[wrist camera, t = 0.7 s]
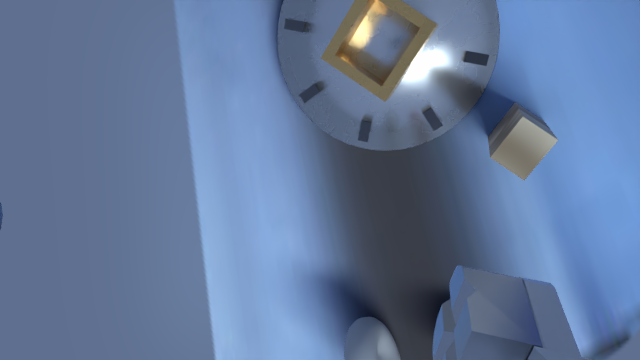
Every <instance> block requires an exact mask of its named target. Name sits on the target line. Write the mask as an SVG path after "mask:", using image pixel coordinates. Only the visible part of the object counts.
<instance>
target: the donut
mask: <svg viewBox="0 0 640 360" xmlns="http://www.w3.org/2000/svg"><path fill="white" fill-rule="evenodd" d="M344 358H345V360H401V359H400V355H399V351H398V349H397V346H396V343H395V341H394V339H393V337H392V335H391V333H390V332H389V330H388V329H387V327H386V326H385V325H384V324H383V323H382V322H380V321H379V320H377V319H376V318H374V317H362V318H359V319H357V320H355V321H354V322H353V324H352V325H351V326H350V327H349V329H348V331H347V334H346V338H345V346H344Z"/></svg>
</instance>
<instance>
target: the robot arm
mask: <svg viewBox="0 0 640 360" xmlns="http://www.w3.org/2000/svg"><path fill="white" fill-rule="evenodd" d="M2 216H3V214H2V206H1V203H0V229H1V224H2ZM449 286H450V297H451V299H449V300H448V301H446V302H445V303H443V304H442V305H441V308H440V311H439V314H438V317H437V321H436V326H435V331H434V338H433V360H591V359H587V358H583V357H581V355H580V352H579V350H578V347H577V344H576V342H575V339H574V337H573V334H572V331H571V329H570V326H569V323H568V321H567V318H566V316H565V313H564V310H563V308H562V305H561V303H560V300H559V297H558V295H557V292H556V290H555V287H554V286H553V285H551V284H550V283H547V282H542V281H537V280H531V279H526V278H521V277H519V278H518V277H513V276H508V275H503V274H499V273H494V272H489V271H484V270H479V269H475V268H470V267H465V266H460V265H458V266H457V268H456V269H455V271H454V273H453V276H452V278H451V281H450V284H449Z"/></svg>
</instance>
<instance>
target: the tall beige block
mask: <svg viewBox="0 0 640 360" xmlns="http://www.w3.org/2000/svg"><path fill="white" fill-rule="evenodd" d="M488 141H489V150H490V158H492V159H493V160H495V161H496V162H498V163H499V164H500V165H502V166H503V167H505V168H506V169H508V170H509V171H511V172H512V173H514V174H515V175H517V176H518V177H520V178H521V179H523V180H525V179H526V178H527V177H528V175H529V174H530V173H531V172H532V171H533V169H534V168H535V167H536V166H537V165H538V163H539V162H540V161H541V160H542V159H543V157H544V156H545V155H546V154H547V153H548V152H549V150H550V149H551V148H552V147H553V146H554V144H555V143H556V142H557V141H558V139H557V138H556V136H555V135H554V134H553V132H552V131H551V130H550V128H549V127H548V126H547V124H546V123H545V122H544V121H543V120H541V119H540V118H538V117H537V116H535V115H534V114H532V113H531V112H529V111H528V110H526V109H525V108H523V107H522V106H520V105H519V104H517V103H516V102H515V103H514V104H513V105H512V107H511V108H510V109H509V111H508V112H507V113H506V114H505V116H504V117H503V118H502V120H501V121H500V122H499V123H498V125H497V126H496V127H495V129H494V130H493V131H492V132H491V134H490V135H489V136H488Z"/></svg>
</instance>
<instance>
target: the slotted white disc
mask: <svg viewBox="0 0 640 360" xmlns="http://www.w3.org/2000/svg"><path fill="white" fill-rule="evenodd" d="M499 35H500V26H499V14H498V9H497V4H496V0H284V1H283V4H282V7H281V11H280V16H279V22H278V34H277V41H278V54H279V60H280V65H281V69H282V72H283V76H284V79H285V81H286V83H287V86H288V88H289V90H290V92H291V94H292V96H293V97H294V99H295V101H296V103H297V104H298V105H299V107H300V108H301V109H302V110H303V112H304V113H305V114H306V115H307V116H308V117H309V118H310V119H311V120H312V121H313V122H314V123H315V124H316V125H317V126H318V127H320V128H321V129H322V130H323V131H325V132H326V133H328V134H330V135H331V136H333V137H335V138H336V139H338V140H341V141H343V142H345V143H348V144H350V145H354V146H357V147H360V148H366V149H372V150H398V149H405V148H409V147H414V146H417V145H420V144H423V143H425V142H428V141H431V140H432V139H434V138H436V137H438V136H440V135H442V134H444V133H445V132H446V131H448V130H449V129H451V128H452V127H454V126H455V125H456V124H457V123H458V122H459V121H460V120H461V119H463V118H464V117H465V116H466V115H467V114H468V112H469V111H470V110H471V109H472V108H473V106H474V105H475V104H476V103H477V101H478V100H479V98H480V96H481V95H482V93H483V92H484V90H485V88H486V86H487V84H488V82H489V80H490V78H491V75H492V72H493V69H494V66H495V63H496V58H497V53H498V48H499Z"/></svg>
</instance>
